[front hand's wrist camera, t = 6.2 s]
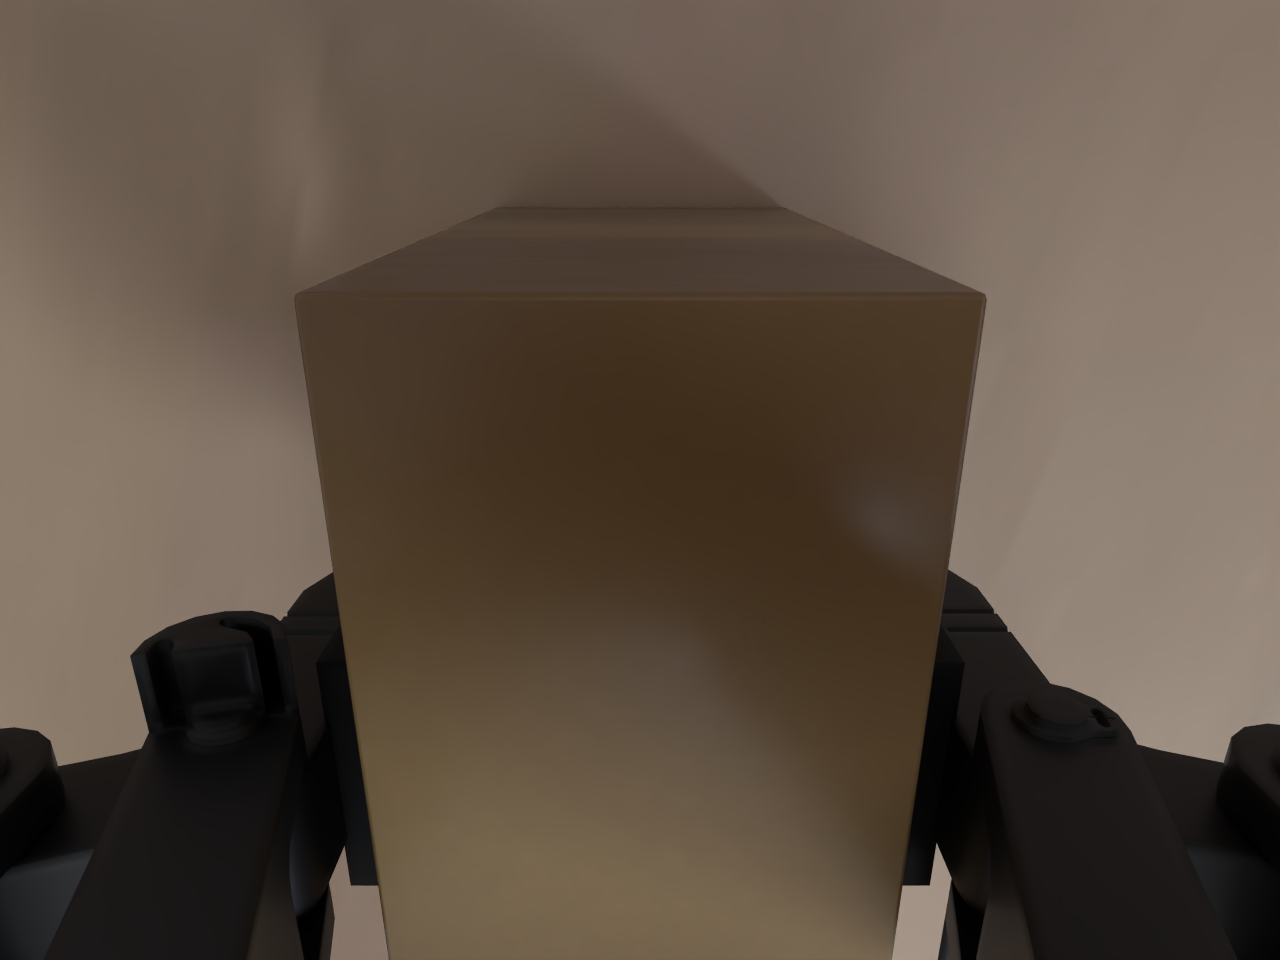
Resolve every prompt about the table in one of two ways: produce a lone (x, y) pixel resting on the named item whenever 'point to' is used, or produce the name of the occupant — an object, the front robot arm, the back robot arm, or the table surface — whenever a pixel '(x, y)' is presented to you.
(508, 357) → the beam
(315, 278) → the table surface
